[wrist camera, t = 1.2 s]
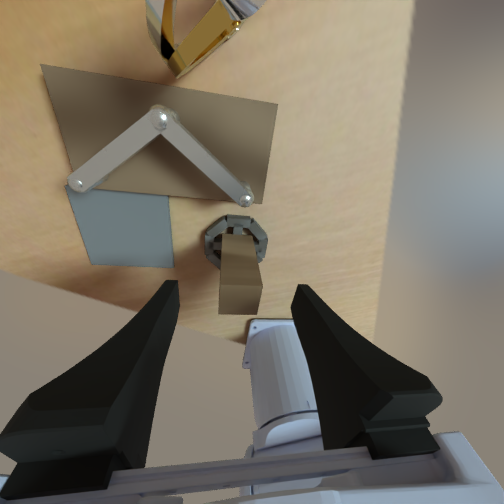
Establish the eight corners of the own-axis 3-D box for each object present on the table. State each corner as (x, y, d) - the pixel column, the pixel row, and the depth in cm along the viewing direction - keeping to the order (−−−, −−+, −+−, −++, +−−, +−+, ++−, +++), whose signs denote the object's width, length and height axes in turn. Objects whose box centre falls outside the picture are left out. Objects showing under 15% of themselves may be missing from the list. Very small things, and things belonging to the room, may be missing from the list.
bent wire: (248, 192, 16) (253, 211, 13) (100, 177, 14) (65, 194, 11) (257, 119, 13) (266, 120, 10) (79, 91, 12) (27, 83, 9)
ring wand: (260, 268, 20) (273, 328, 14) (205, 265, 19) (195, 328, 13) (270, 217, 17) (291, 268, 11) (206, 212, 16) (194, 264, 11)
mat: (174, 266, 19) (173, 268, 18) (93, 262, 18) (91, 264, 17) (168, 194, 15) (167, 195, 15) (67, 184, 14) (64, 185, 14)
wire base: (260, 199, 16) (261, 204, 15) (86, 182, 14) (78, 187, 13) (274, 104, 13) (278, 104, 12) (53, 67, 11) (39, 63, 10)
